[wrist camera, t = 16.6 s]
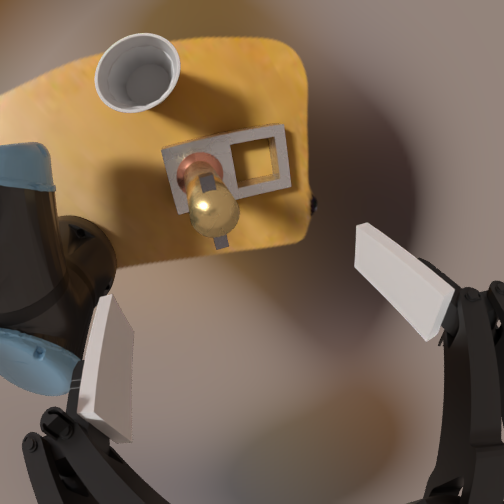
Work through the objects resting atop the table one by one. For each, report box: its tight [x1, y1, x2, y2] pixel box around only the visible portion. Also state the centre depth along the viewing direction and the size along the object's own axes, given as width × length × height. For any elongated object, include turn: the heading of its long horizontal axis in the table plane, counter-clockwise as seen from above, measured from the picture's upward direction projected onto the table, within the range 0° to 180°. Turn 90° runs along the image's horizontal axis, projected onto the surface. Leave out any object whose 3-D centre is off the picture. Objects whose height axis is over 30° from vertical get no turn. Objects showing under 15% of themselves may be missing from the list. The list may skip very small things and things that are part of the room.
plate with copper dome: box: [161, 123, 291, 215], centre depth 35 cm, size 16×9×3 cm, turn 99°
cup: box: [95, 33, 180, 113], centre depth 23 cm, size 8×8×12 cm
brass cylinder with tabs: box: [184, 161, 240, 250], centre depth 28 cm, size 6×4×14 cm, turn 9°
